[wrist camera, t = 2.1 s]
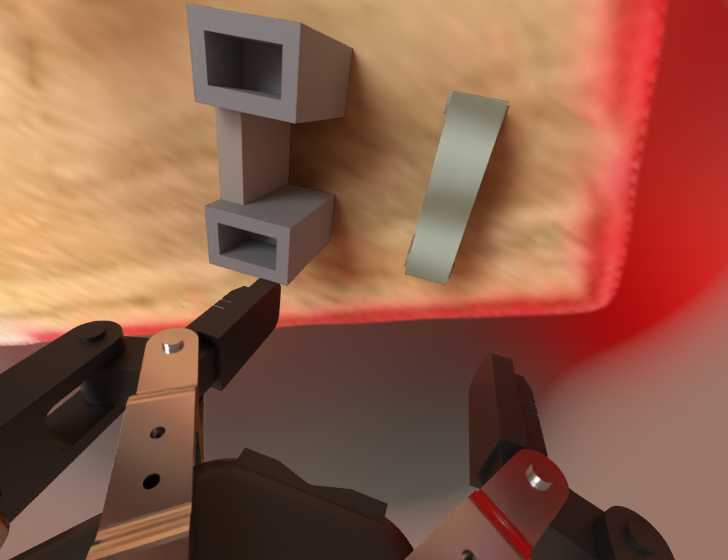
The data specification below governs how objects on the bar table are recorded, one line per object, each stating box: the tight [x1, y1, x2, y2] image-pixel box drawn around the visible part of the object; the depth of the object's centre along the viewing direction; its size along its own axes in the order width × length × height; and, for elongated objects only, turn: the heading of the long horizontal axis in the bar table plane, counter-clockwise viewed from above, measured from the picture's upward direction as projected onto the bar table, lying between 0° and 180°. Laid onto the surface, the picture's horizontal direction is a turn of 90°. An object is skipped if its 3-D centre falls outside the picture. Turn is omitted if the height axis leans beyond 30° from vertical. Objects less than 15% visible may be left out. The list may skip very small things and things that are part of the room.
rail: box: [404, 91, 510, 285], centre depth 27 cm, size 14×4×6 cm, turn 170°
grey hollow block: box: [187, 4, 353, 286], centre depth 27 cm, size 17×7×10 cm, turn 170°
